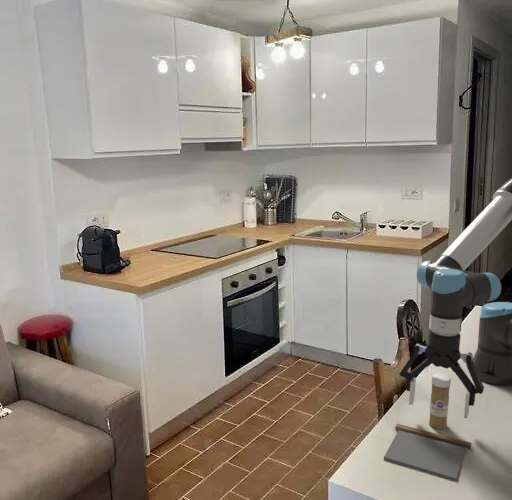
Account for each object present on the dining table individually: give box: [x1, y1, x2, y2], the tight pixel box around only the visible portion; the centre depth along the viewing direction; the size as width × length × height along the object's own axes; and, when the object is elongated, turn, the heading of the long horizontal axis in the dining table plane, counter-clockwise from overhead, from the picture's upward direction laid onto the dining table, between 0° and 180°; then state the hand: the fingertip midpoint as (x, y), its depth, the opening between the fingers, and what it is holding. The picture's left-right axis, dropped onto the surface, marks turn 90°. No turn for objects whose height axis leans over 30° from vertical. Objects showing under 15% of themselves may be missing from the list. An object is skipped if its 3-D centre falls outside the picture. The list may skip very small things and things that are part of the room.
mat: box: [383, 430, 466, 481], centre depth 123 cm, size 13×16×1 cm
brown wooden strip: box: [394, 423, 473, 450], centre depth 130 cm, size 2×18×1 cm, turn 60°
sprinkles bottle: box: [428, 373, 452, 430], centre depth 135 cm, size 5×5×13 cm
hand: (438, 409), depth 135 cm, fingers open, 13 cm apart
